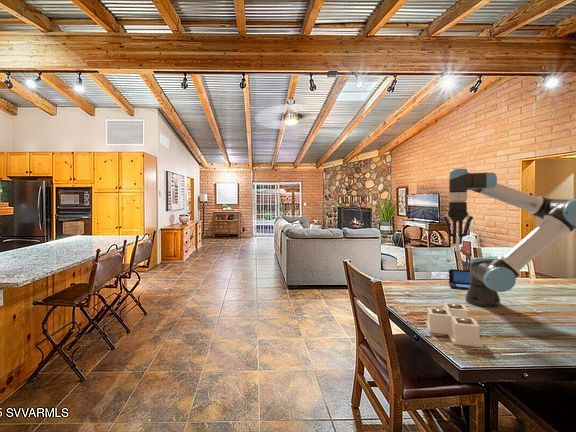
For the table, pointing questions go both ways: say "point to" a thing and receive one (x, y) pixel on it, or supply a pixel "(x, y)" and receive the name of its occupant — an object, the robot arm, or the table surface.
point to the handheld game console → (459, 279)
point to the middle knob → (438, 311)
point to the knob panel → (454, 325)
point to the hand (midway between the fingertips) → (457, 250)
